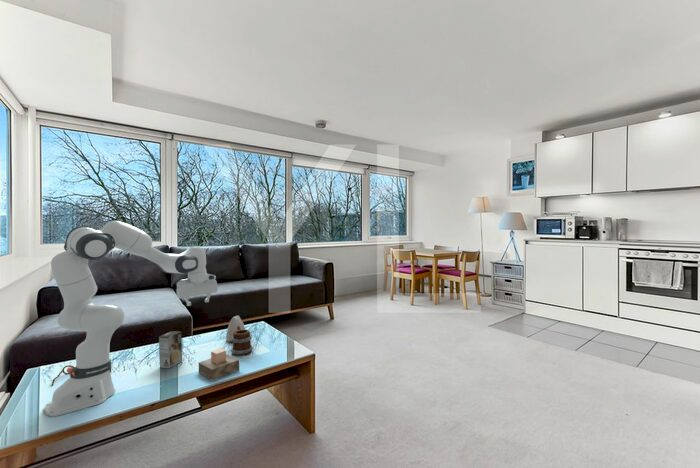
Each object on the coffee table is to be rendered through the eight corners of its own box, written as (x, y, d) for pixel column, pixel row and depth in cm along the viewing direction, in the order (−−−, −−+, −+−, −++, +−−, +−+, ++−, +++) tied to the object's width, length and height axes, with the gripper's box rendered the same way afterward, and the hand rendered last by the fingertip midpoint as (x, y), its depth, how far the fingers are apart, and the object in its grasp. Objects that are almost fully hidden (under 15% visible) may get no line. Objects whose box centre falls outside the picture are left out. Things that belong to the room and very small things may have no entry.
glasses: (96, 370, 163) (95, 361, 163) (86, 382, 151) (85, 371, 151) (63, 375, 158) (62, 365, 158) (50, 387, 146) (50, 376, 146)
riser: (212, 380, 150) (212, 369, 150) (198, 372, 158) (198, 362, 158) (239, 369, 161) (239, 359, 160) (225, 363, 169) (225, 353, 169)
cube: (216, 364, 156) (216, 353, 155) (211, 361, 159) (211, 351, 159) (226, 360, 159) (225, 350, 159) (220, 358, 163) (220, 348, 163)
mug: (233, 358, 174) (231, 329, 176) (228, 354, 186) (227, 327, 188) (255, 353, 180) (253, 326, 182) (249, 350, 192) (247, 324, 194)
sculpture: (232, 335, 212) (231, 312, 212) (249, 335, 211) (249, 313, 211) (222, 342, 199) (222, 318, 199) (241, 342, 198) (240, 318, 198)
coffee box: (172, 360, 173) (171, 330, 173) (182, 361, 172) (182, 331, 172) (159, 367, 164) (158, 336, 164) (170, 368, 163) (169, 337, 163)
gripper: (179, 280, 159) (180, 308, 159) (218, 275, 175) (219, 301, 175) (173, 279, 163) (174, 307, 163) (212, 274, 179) (213, 299, 179)
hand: (198, 303), depth 169 cm, fingers open, 8 cm apart
